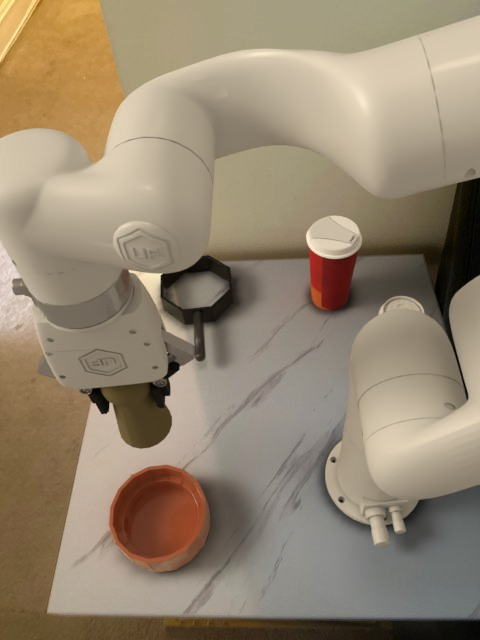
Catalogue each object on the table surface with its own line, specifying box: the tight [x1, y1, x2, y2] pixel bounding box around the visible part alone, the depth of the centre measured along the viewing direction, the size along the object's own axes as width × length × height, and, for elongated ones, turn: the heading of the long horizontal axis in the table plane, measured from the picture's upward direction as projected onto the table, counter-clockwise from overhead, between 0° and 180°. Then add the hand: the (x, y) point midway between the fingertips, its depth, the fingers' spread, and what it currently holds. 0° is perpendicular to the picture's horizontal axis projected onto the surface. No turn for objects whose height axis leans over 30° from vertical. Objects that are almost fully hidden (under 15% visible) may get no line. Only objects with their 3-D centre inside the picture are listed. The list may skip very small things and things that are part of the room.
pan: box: [159, 254, 235, 363], centre depth 93 cm, size 21×12×4 cm, turn 5°
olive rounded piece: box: [100, 382, 173, 450], centre depth 59 cm, size 6×6×11 cm
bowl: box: [108, 464, 211, 574], centre depth 72 cm, size 12×12×5 cm
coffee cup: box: [305, 215, 363, 312], centre depth 89 cm, size 8×8×15 cm
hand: (133, 397), depth 59 cm, fingers closed on olive rounded piece, 5 cm apart
